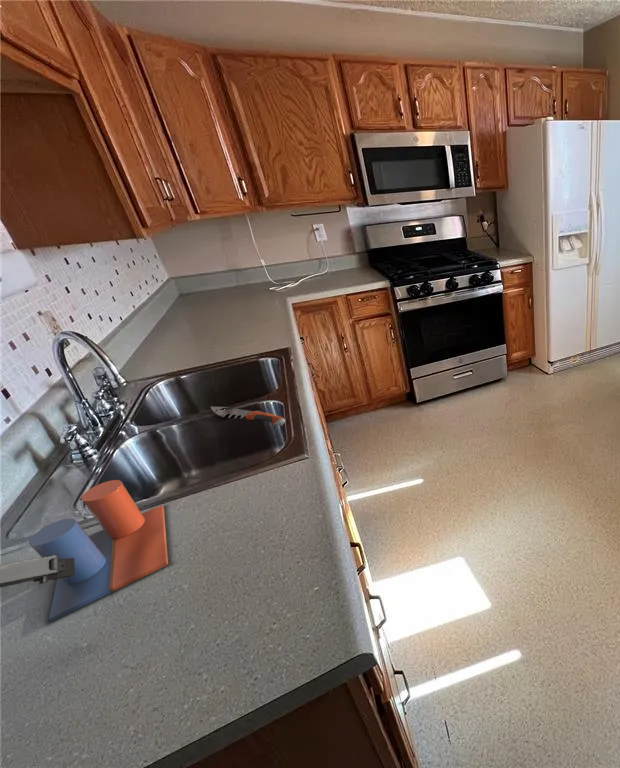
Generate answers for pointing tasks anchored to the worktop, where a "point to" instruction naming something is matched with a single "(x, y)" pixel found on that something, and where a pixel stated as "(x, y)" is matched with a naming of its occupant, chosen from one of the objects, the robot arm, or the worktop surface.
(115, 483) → the orange canister
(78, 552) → the blue canister
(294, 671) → the worktop surface
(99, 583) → the sorting board
